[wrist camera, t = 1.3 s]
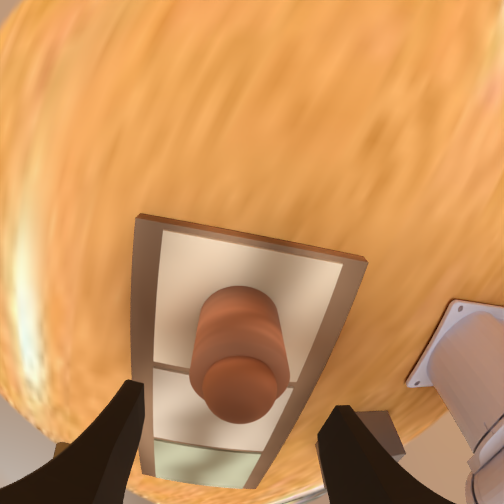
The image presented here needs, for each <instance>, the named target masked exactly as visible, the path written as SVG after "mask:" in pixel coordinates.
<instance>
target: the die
mask: <svg viewBox="0 0 504 504" xmlns="http://www.w3.org/2000/svg"><path fill="white" fill-rule="evenodd" d="M355 413H356V414H357V415H358V417H359V418H360V419H361V421H362V422H363V423H364V424H365V426H366V427H367V428H368V429H369V431H370V432H371V433H372V434H373V436H374V437H375V438H376V439H377V441H378V442H379V443H380V444H381V445H382V446H383V448H384V449H385V450H386V451H387V452H388V453H389V454H390V455H391V456H392V457H393V458H394V460H395V461H396V462H398V461H399V460H400V459H401V458H402V457H403V456H404V455H405V454H406V453H405V450H404V448H403V445H402V443H401V441H400V438H399V436H398V434H397V431H396V429H395V427H394V424H393V422H392V420H391V418H390V415H389V413H388V411H369V412H355ZM315 445H316V450H317V454H318V459H319V464H320V468H321V473H322V478H323V483H324V488H325V489H327V487H326V483H325V479H324V474H323V470H322V466H321V461H320V457H319V448H318V442H317V443H316V444H315Z"/></svg>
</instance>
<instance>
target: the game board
mask: <svg viewBox="0 0 504 504" xmlns="http://www.w3.org/2000/svg"><path fill="white" fill-rule="evenodd" d="M367 265H368V262H367V260H366V259H365V258H364V257H362V256H358V255H353V254H348V253H343V252H338V251H334V250H329V249H324V248H319V247H314V246H309V245H304V244H299V243H294V242H289V241H284V240H279V239H274V238H269V237H264V236H259V235H254V234H248V233H243V232H238V231H233V230H227V229H222V228H217V227H212V226H206V225H201V224H196V223H190V222H185V221H179V220H174V219H168V218H163V217H157V216H152V215H146V214H139V215H138V216H137V217H136V219H135V230H134V242H133V257H132V277H131V368H132V381H137V382H141V383H144V398H145V419H144V424H143V430H142V435H141V439H140V443H139V446H138V449H139V456H140V463H141V470H142V474H145V475H149V476H154V477H156V478H161V479H166V480H172V481H177V482H183V483H190V484H197V485H205V486H214V487H224V488H237V489H242V488H245V489H256V488H257V486H258V485H259V483H260V481H261V480H262V478H263V477H264V475H265V474H266V472H267V471H268V469H269V467H270V466H271V464H272V463H273V461H274V459H275V458H276V456H277V454H278V453H279V451H280V449H281V448H282V446H283V444H284V443H285V441H286V439H287V437H288V436H289V434H290V432H291V430H292V429H293V427H294V425H295V423H296V421H297V420H298V418H299V416H300V414H301V412H302V410H303V408H304V407H305V405H306V403H307V401H308V399H309V397H310V395H311V393H312V391H313V389H314V387H315V385H316V383H317V381H318V379H319V377H320V375H321V373H322V371H323V369H324V367H325V365H326V363H327V361H328V359H329V356H330V354H331V352H332V350H333V348H334V346H335V343H336V341H337V339H338V337H339V334H340V332H341V330H342V328H343V325H344V323H345V321H346V318H347V316H348V314H349V311H350V309H351V306H352V304H353V301H354V299H355V296H356V294H357V291H358V289H359V286H360V284H361V281H362V278H363V276H364V273H365V271H366V268H367ZM230 286H248V287H252V288H255V289H258V290H260V291H262V292H263V293H265V294H266V295H267V296H268V297H270V298H271V300H272V301H273V302H274V304H275V306H276V308H277V311H278V315H279V320H280V325H281V330H282V335H283V340H284V345H285V350H286V355H287V360H288V365H289V370H290V381H289V384H288V387H287V388H286V390H285V391H284V393H283V394H282V395H281V396H280V397H279V398H277V399H276V400H275V402H274V404H273V406H272V408H271V409H270V410H269V412H268V413H267V414H266V415H264V416H263V417H262V418H260V419H259V420H256V421H254V422H251V423H247V424H233V423H229V422H226V421H224V420H222V419H220V418H218V417H217V416H216V415H214V414H213V413H212V412H211V410H210V409H209V408H208V406H207V404H206V402H205V400H203V399H202V398H201V397H200V396H199V395H198V394H197V393H196V392H195V391H194V389H193V388H192V386H191V383H190V379H189V371H190V365H191V360H192V354H193V349H194V343H195V338H196V332H197V327H198V321H199V316H200V312H201V308H202V306H203V304H204V302H205V301H206V300H207V298H208V297H210V296H211V295H212V294H213V293H215V292H216V291H218V290H220V289H223V288H226V287H230Z"/></svg>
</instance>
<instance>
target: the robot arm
mask: <svg viewBox="0 0 504 504" xmlns="http://www.w3.org/2000/svg"><path fill="white" fill-rule="evenodd" d="M406 385H407V387H427V386H434V387H435V388H436V390H437V392H438V393H439V395H440V397H441V398H442V400H443V401H444V403H445V405H446V406H447V408H448V410H449V411H450V413H451V415H452V416H453V418H454V420H455V422H456V423H457V425H458V427H459V428H460V430H461V432H462V434H463V435H464V437H465V439H466V441H467V443H468V444H469V446H470V448H471V450H472V452H473V453H474V455H473V456H472V457H471V458H470V459H469V460H468V461H467V463H468V465H469V467H470V469H471V472H470V474H469V475H468V478H467V481H466V487H465V495H466V502H467V504H504V307H501V306H495V305H488V304H482V303H475V302H469V301H463V300H453V301H452V302H451V303H450V304H449V306H448V308H447V310H446V312H445V314H444V316H443V318H442V320H441V322H440V324H439V326H438V328H437V330H436V332H435V334H434V335H433V337H432V339H431V341H430V343H429V344H428V346H427V348H426V350H425V351H424V353H423V355H422V356H421V358H420V360H419V361H418V363H417V365H416V366H415V368H414V370H413V371H412V373H411V374H410V376H409V377H408V379H407V381H406ZM144 419H145V398H144V383H141V382H137V381H132V380H126V381H125V382H124V383H123V385H122V386H121V388H120V389H119V391H118V392H117V393H116V395H115V396H114V397H113V399H112V400H111V401H110V402H109V404H108V405H107V406H106V407H105V409H104V410H103V411H102V412H101V413H100V414H99V416H98V417H97V418H96V419H95V420H94V421H93V422H92V424H91V425H90V426H89V427H88V428H87V429H86V430H85V431H84V432H83V433H82V434H81V435H80V436H79V437H78V438H77V439H76V440H75V441H74V442H72V443H71V444H70V445H69V446H68V447H67V448H66V449H64V450H63V451H62V452H61V453H60V454H58V455H57V456H56V457H54V458H53V459H52V460H50V461H49V462H48V463H46V464H45V465H43V466H42V467H40V468H39V469H37V470H35V471H34V472H33V473H31V474H29V475H27V476H25V477H24V478H22V479H20V480H18V481H16V482H14V483H12V484H9V485H7V486H5V487H3V488H0V504H123V499H124V493H125V489H126V485H127V481H128V478H129V475H130V471H131V468H132V465H133V462H134V459H135V455H136V452H137V449H138V446H139V443H140V439H141V435H142V430H143V424H144ZM318 448H319V457H320V461H321V466H322V470H323V474H324V479H325V483H326V487H327V491H328V495H329V500H330V504H455V503H453V502H451V501H449V500H447V499H445V498H443V497H441V496H440V495H438V494H436V493H435V492H433V491H432V490H430V489H429V488H427V487H426V486H424V485H423V484H422V483H420V482H419V481H417V480H416V479H415V478H414V477H413V476H412V475H410V474H409V473H408V472H407V471H406V470H405V469H403V468H402V467H401V466H400V465H399V464H398V463H397V462H396V461H395V460H394V458H393V457H392V456H391V455H390V454H389V453H388V452H387V451H386V450H385V449H384V448H383V446H382V445H381V444H380V443H379V442H378V441H377V439H376V438H375V437H374V436H373V434H372V433H371V432H370V431H369V429H368V428H367V427H366V426H365V424H364V423H363V422H362V421H361V419H360V418H359V417H358V415H357V414H356V413H355V412H354V410H353V409H352V408H351V407H350V405H336V406H335V408H334V409H333V411H332V413H331V414H330V416H329V417H328V419H327V421H326V422H325V424H324V425H323V427H322V428H321V430H320V431H319V433H318Z"/></svg>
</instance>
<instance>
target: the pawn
mask: <svg viewBox="0 0 504 504" xmlns="http://www.w3.org/2000/svg"><path fill="white" fill-rule="evenodd" d="M189 379H190V383H191V386H192V388H193V389H194V391H195V392H196V393H197V394H198V395H199V396H200V397H201V398H202V399H203V400H205V402H206V404H207V406H208V408H209V409H210V410H211V412H212V413H213V414H214V415H216V416H217V417H218V418H220V419H222V420H224V421H226V422H229V423H233V424H247V423H251V422H254V421H256V420H259V419H260V418H262V417H263V416H264V415H266V414H267V413H268V412H269V410H270V409H271V408H272V406H273V404H274V402H275V400H276V399H277V398H279V397H280V396H281V395H282V394H283V393H284V391H285V390H286V388H287V387H288V384H289V381H290V370H289V365H288V360H287V355H286V350H285V345H284V340H283V335H282V330H281V325H280V320H279V315H278V311H277V308H276V306H275V304H274V302H273V301H272V300H271V298H270V297H268V296H267V295H266V294H265V293H263V292H262V291H260V290H258V289H255V288H252V287H248V286H230V287H226V288H223V289H220V290H218V291H216V292H215V293H213V294H212V295H211V296H210V297H208V298H207V300H206V301H205V302H204V304H203V306H202V308H201V312H200V316H199V321H198V327H197V332H196V338H195V343H194V349H193V354H192V360H191V365H190V371H189Z"/></svg>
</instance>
